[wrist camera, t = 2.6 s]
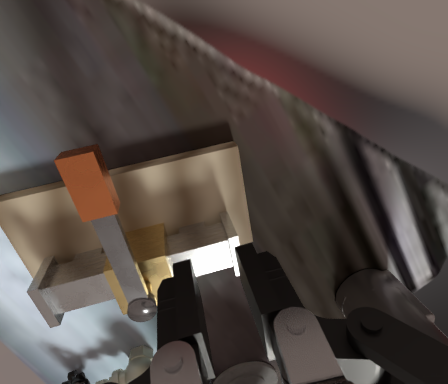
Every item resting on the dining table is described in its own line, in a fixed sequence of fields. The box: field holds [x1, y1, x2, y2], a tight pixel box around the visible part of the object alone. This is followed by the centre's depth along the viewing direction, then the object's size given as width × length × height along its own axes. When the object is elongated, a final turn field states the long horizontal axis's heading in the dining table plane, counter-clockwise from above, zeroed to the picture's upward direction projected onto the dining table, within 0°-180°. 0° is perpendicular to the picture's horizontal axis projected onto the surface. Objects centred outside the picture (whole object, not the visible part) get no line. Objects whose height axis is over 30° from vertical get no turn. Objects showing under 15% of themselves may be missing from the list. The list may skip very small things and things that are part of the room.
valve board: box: [0, 141, 253, 279], centre depth 35 cm, size 26×13×2 cm, turn 100°
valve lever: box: [54, 144, 157, 322], centre depth 25 cm, size 17×3×2 cm, turn 10°
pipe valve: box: [27, 211, 240, 328], centre depth 33 cm, size 21×6×8 cm, turn 100°
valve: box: [62, 345, 153, 384], centre depth 43 cm, size 7×7×12 cm
